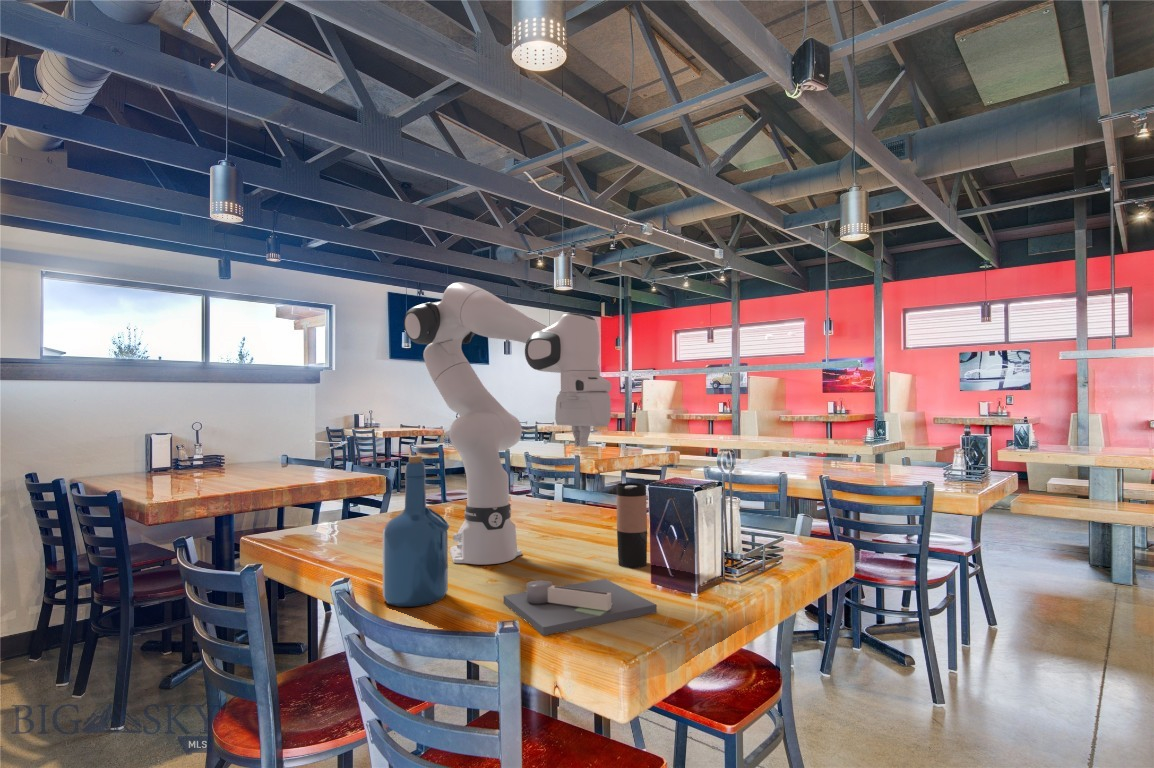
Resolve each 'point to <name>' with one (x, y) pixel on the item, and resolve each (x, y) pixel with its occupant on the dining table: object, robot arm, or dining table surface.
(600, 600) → the dial lever
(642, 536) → the travel mug
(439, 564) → the wine bottle
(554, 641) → the dining table surface
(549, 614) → the dial plate
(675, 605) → the dining table surface
